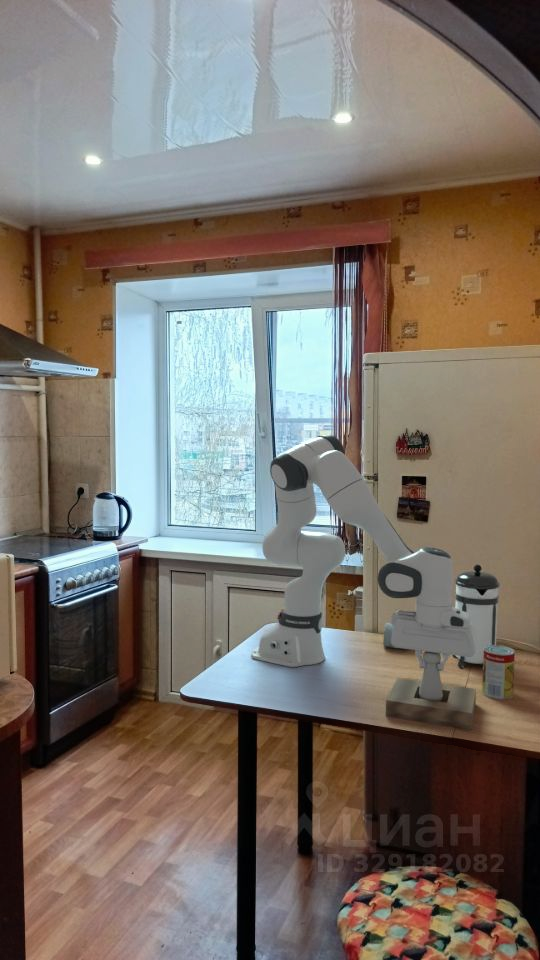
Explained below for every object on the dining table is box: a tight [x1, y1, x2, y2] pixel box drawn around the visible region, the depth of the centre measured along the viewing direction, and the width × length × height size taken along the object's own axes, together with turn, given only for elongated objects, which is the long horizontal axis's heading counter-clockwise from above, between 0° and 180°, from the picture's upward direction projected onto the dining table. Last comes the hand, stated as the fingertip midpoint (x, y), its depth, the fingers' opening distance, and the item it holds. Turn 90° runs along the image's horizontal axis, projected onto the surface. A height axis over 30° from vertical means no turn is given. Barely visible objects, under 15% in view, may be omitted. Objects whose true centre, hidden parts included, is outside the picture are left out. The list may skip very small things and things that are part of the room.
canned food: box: [481, 644, 516, 700], centre depth 177 cm, size 8×8×12 cm
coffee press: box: [452, 564, 501, 669], centre depth 201 cm, size 17×16×30 cm
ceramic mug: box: [382, 622, 403, 649], centre depth 216 cm, size 11×8×8 cm
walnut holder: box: [385, 677, 477, 731], centre depth 166 cm, size 20×16×4 cm
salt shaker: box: [419, 651, 443, 702], centre depth 165 cm, size 6×6×13 cm
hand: (431, 668), depth 165 cm, fingers closed on salt shaker, 3 cm apart
